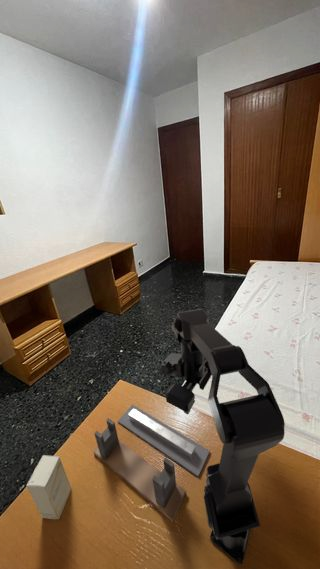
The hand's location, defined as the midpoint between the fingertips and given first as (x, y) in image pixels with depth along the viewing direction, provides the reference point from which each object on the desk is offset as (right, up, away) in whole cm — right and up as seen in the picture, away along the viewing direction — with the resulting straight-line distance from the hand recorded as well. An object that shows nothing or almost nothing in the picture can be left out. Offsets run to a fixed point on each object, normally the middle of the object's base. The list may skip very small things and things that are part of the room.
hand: (194, 400), depth 63 cm
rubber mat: (-10, -12, +4) cm, 16 cm away
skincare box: (-34, -20, -9) cm, 40 cm away
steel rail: (-10, -12, +3) cm, 16 cm away
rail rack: (-16, -16, -4) cm, 23 cm away
